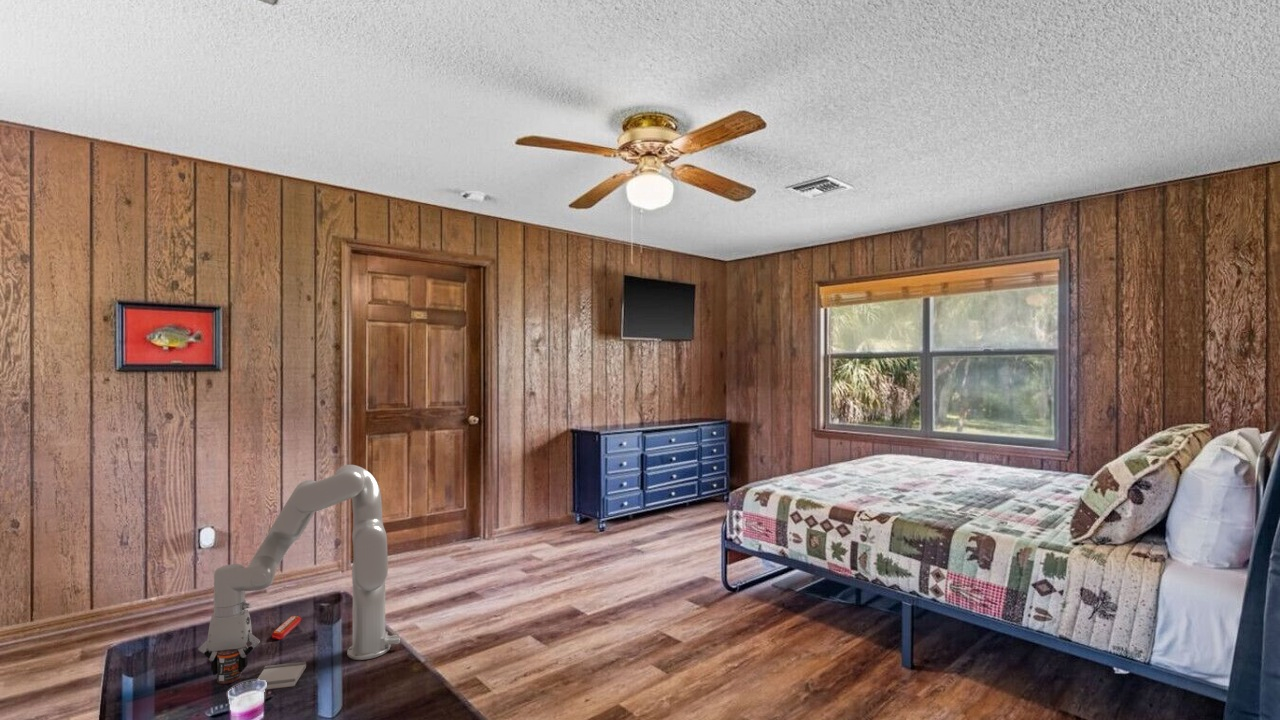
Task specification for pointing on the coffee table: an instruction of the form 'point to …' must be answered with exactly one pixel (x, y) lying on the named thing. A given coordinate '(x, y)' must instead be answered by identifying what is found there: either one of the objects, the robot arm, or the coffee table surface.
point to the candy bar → (286, 627)
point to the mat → (282, 674)
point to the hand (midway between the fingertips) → (229, 670)
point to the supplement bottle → (228, 666)
